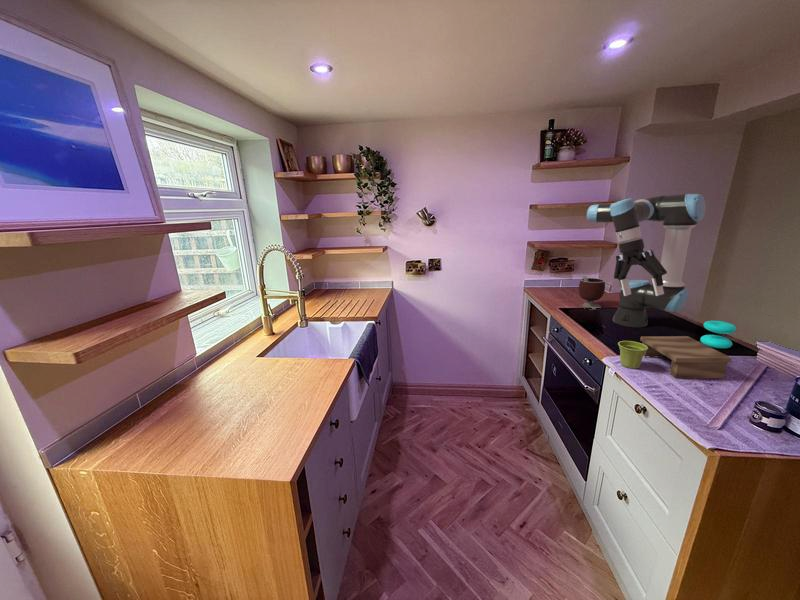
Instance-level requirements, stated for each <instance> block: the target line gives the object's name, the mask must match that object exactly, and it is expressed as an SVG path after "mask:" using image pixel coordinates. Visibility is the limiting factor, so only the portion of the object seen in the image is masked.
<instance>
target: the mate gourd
mask: <svg viewBox="0 0 800 600" xmlns="http://www.w3.org/2000/svg"><path fill="white" fill-rule="evenodd" d="M579 275H580V276H582V278H581V279H580V281H579V284H578V295H579V296H580V298H581V299H583V300H585V301H587V302H583V303H584V304H583V306H586V307H591V308H592V309H591V310H597V309H596V308H600V309H601V308H602V306H601V305H600V304H598V303H595V302H596V301H599V300H600V299H602V297H604V294H605V289H606V283H605V282H606V281H605V279H602V278H597V277H587V276H586V275H584V274H583V273H581V272H580V273H579Z"/></svg>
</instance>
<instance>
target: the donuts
mask: <svg viewBox="0 0 800 600" xmlns="http://www.w3.org/2000/svg"><path fill="white" fill-rule="evenodd" d="M703 328H704V329H706V330H707V331H708V332H712V333H716V334H705V335H702V336H701V337H700V340H699V342H701V343H703V344H705V345H707V346H709V347H711V348H714V349H715V348H716V349H729V348H731V347H732V346H733V342H732V341H731V340H730V339H729V338H727V337H725V336H723V335H722V336H721V335H717V334H724V335H726V334H728V335H729V334H733V333H734V332H736V331H737V327H736V326H735V325H734V324H733V323H730V322H727V321H722V320H707V321H705V322H704V323H703Z"/></svg>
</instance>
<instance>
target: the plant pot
mask: <svg viewBox="0 0 800 600" xmlns="http://www.w3.org/2000/svg"><path fill="white" fill-rule="evenodd" d="M617 345H618V348H619V356H620V357H619V358H620V359H619V361H620V365H621V366H622V367H624V368H629V369H638V368H640V366H641V363H642V360H643V358H644V356H643V355H644V353H645V351H646V350H647V349H648V347H647V346H646V345H644V344H642V343H641V342H637V341H632V340H621V341H619V342H617Z"/></svg>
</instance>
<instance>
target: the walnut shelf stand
mask: <svg viewBox="0 0 800 600" xmlns="http://www.w3.org/2000/svg"><path fill="white" fill-rule="evenodd" d="M640 342H642V344H644V345H646V346H647V347H648V349H647V350H646V351H645V353H644V356H666V357H665V358H668V359H670V360H671V364H670V369H669V373H668V374H669V375H670V376H672V377H673V378H675V379H724V378H725V375H726V371H727V366H728V363H731V362H732V360H733V357H731V356H729V355H727V354H725V353H723V352H721V351H719V350H717V349H715V348H714V347H710V346H707V345H705V344H703V343H702V342H701V341H698V340H696V339H694V338H692V337H690V336H688V335H687V336H686V335H681V336H680V335H677V336H673V335H671V336H667V335H666V336H663V335H662V336H660V335H659V336H640ZM644 356H643V357H644Z"/></svg>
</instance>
